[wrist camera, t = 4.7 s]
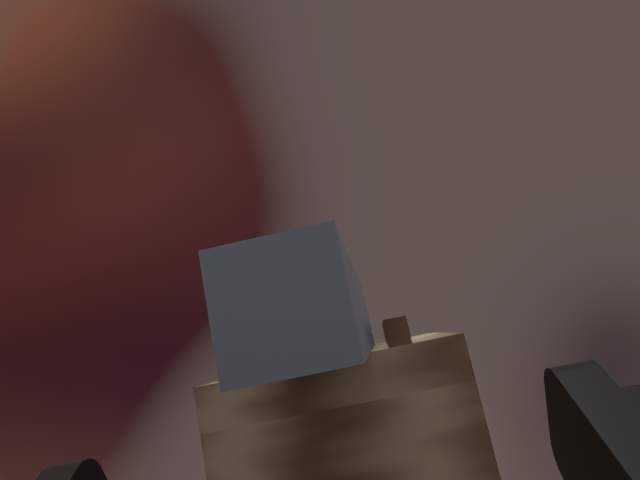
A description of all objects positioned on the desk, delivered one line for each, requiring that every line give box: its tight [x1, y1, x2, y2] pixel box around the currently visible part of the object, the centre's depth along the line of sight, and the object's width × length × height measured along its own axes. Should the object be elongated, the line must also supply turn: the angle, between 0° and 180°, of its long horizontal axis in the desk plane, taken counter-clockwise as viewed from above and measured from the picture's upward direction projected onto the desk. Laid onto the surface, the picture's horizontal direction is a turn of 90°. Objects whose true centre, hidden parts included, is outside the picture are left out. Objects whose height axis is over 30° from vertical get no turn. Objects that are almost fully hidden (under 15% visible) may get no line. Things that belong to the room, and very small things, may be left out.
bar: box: [199, 221, 375, 393], centre depth 24 cm, size 4×22×4 cm, turn 173°
